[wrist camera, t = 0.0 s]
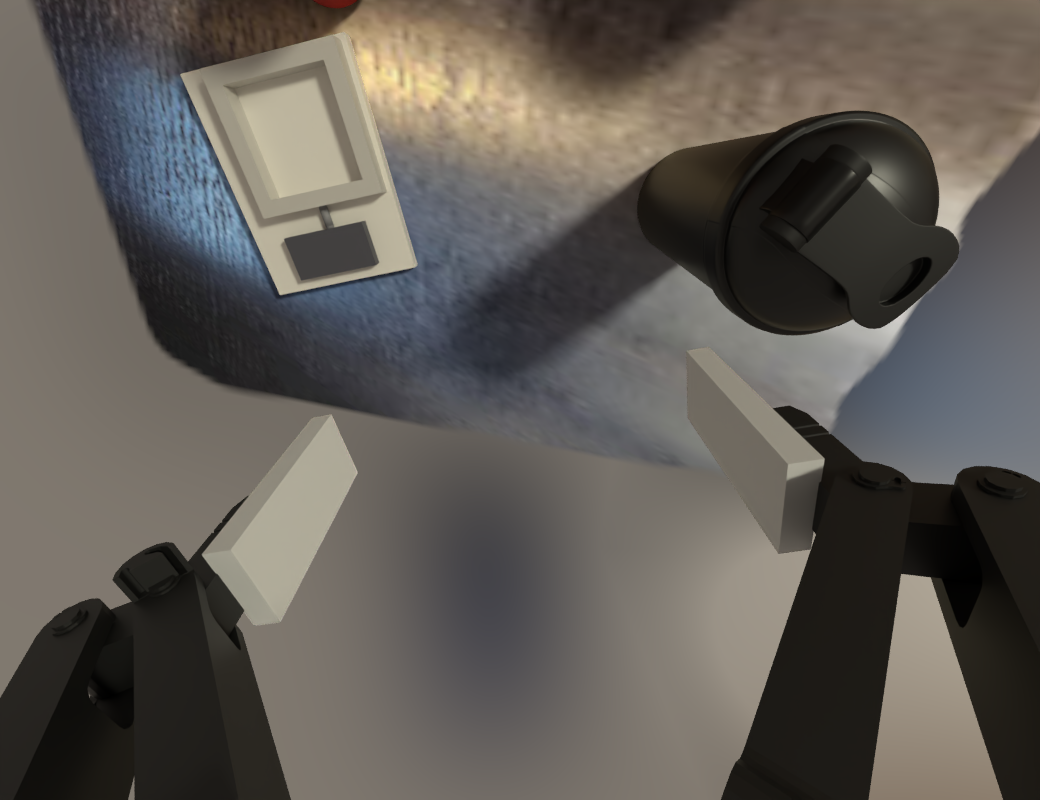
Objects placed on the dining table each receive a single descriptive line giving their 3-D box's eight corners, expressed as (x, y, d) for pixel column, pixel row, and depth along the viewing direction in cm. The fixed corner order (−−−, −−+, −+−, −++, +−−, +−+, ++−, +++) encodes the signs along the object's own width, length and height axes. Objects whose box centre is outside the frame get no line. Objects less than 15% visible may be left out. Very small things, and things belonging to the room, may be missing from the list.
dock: (190, 76, 34) (164, 70, 32) (349, 35, 33) (336, 25, 31) (285, 291, 42) (271, 299, 40) (417, 264, 41) (411, 271, 39)
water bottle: (686, 284, 42) (844, 397, 22) (603, 218, 39) (694, 278, 19) (771, 186, 38) (1057, 213, 18) (685, 106, 35) (908, 30, 15)
